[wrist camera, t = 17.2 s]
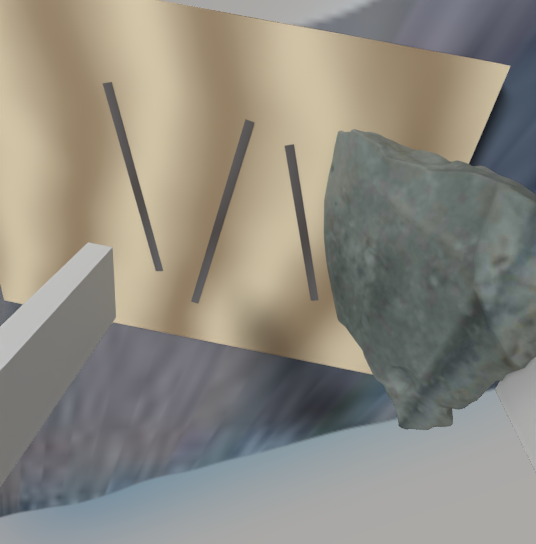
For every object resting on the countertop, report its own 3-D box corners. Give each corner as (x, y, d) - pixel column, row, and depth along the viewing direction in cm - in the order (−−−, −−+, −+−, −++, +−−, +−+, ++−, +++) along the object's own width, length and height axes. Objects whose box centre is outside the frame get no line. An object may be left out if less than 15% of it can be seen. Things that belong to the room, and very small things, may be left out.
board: (20, 286, 25) (4, 300, 24) (-46, -39, 16) (-77, -43, 15) (375, 357, 24) (378, 375, 23) (495, 62, 16) (510, 65, 15)
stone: (315, 311, 23) (479, 450, 17) (259, 332, 20) (427, 503, 14) (376, 114, 17) (655, 216, 11) (308, 112, 15) (617, 240, 9)
